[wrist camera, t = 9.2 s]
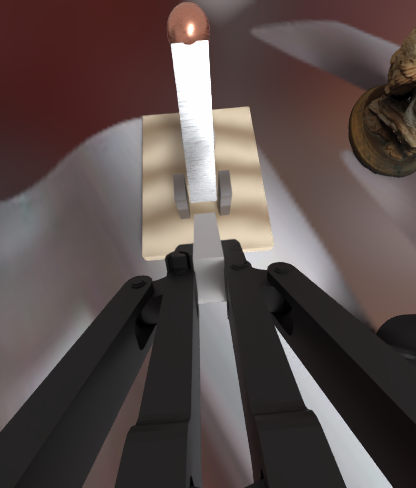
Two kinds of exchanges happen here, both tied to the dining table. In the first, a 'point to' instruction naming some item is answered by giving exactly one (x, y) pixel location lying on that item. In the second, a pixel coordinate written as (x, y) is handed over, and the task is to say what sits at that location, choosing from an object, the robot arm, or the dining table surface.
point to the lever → (194, 96)
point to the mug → (401, 336)
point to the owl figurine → (388, 118)
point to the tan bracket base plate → (227, 185)
